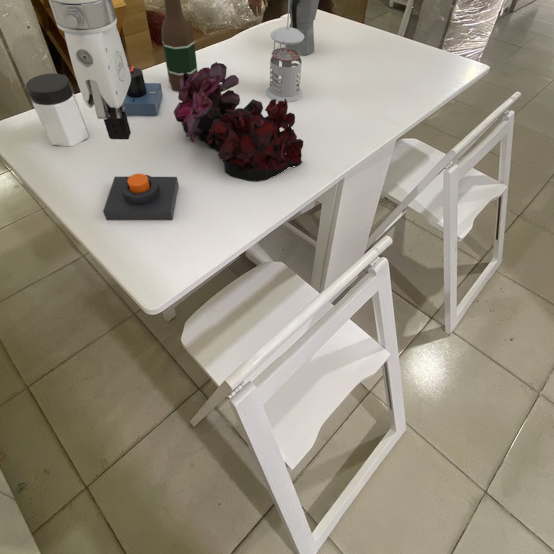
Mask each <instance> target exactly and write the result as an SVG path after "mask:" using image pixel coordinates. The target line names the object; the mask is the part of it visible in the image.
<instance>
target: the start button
mask: <svg viewBox="0 0 554 554" xmlns="http://www.w3.org/2000/svg"><path fill="white" fill-rule="evenodd" d="M146 175H147V174H144V173H135V174H132V175H129V176H128V177H129V178H128V185H129V188H130V190H131V191H132V192H133V193H142V192H145V191H147V190H148V189H149V188H150V184H149V181H148V177H147V176H146Z"/></svg>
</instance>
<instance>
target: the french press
mask: <svg viewBox="0 0 554 554" xmlns="http://www.w3.org/2000/svg"><path fill="white" fill-rule="evenodd" d="M289 3H290V0H288V4H287V22H286V23H287V24H286V26H281V27H278V28H275V30H272V31H271V32H270V34H269V37H270V39H271V40H272V41H273V50H272V52H271V57H270V60H269V86H268V87H267V89H266V90H265V95H266V96H267V97H268V98H269V99H270V100H274V99H276V102H279V101H284V99H286V100H287V103H292V102H296V101H299V100H300V99H301V98H302V97H303V96H304V93H303V90H302V89H301V87H300V86H301V75H302V62H303V61H302V59H301V54H300V52H299V51H297V50H295V49H291V48H287V45H293V44H298V43H300V42H302V41H303V39H304V34H302V33H301V32H300V31H299V30H297V29H295V28H291V27H289V21H290V19H289V18H290V7H289ZM276 43H278V44H279V47H277V48H276ZM282 45H285V47H282ZM295 61H296V62H298V63H296V62H295ZM280 62H281V66H280ZM279 77H280V78H279Z"/></svg>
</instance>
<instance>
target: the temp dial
mask: <svg viewBox="0 0 554 554" xmlns="http://www.w3.org/2000/svg"><path fill="white" fill-rule="evenodd" d="M129 71H130V75H131V83H130V86H129V89H128V91H127V96H129V97H133V98H137V97H142V96H144V95H145V94H146V93H147V91H146V86H145V83H146V82H145V77H144V73H143V70H142V69H141V68H138V67H135V66H133V65H132V66H131V67H129Z"/></svg>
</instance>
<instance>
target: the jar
mask: <svg viewBox="0 0 554 554" xmlns="http://www.w3.org/2000/svg"><path fill="white" fill-rule="evenodd" d="M25 89H26V92H27V94H28V96H29V98H30V100H31V101H32V106H33V109H34V110H35V112H36V115H37V117H38V119H39V122H40V123H41V125H42V128H43V130H44V132H45V134H46V136H47V138H48V140H49V142H50V145H52V146H61V147H74V146H76V145H78V144H80V143H81V142H84V141H86V140H87V139H89V138H90V136H89V132H88V128H87V125H86V123H85V119H84V117H83V114H82V112H81V109H80V105H79V104H78V101H77V98H76V95H75V93H74V90H73V87H72V84H71V81H70V79H69V78H68V77H67V76H66V75H64V74H61V73H43V74H39V75H37V76H34V77H32V78H30V79H28V80H27V82H26V83H25Z"/></svg>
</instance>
